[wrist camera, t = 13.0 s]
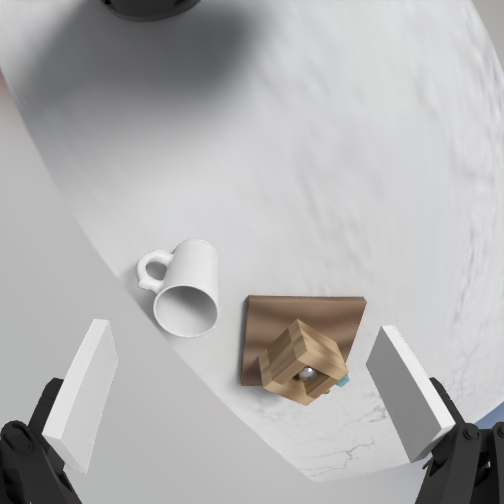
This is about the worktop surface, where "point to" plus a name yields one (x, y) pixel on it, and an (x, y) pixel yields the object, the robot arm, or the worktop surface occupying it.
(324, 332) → the base board
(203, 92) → the worktop surface
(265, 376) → the hollow wooden frame
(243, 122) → the worktop surface
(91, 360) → the robot arm
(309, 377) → the post
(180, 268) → the mug
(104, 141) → the worktop surface
